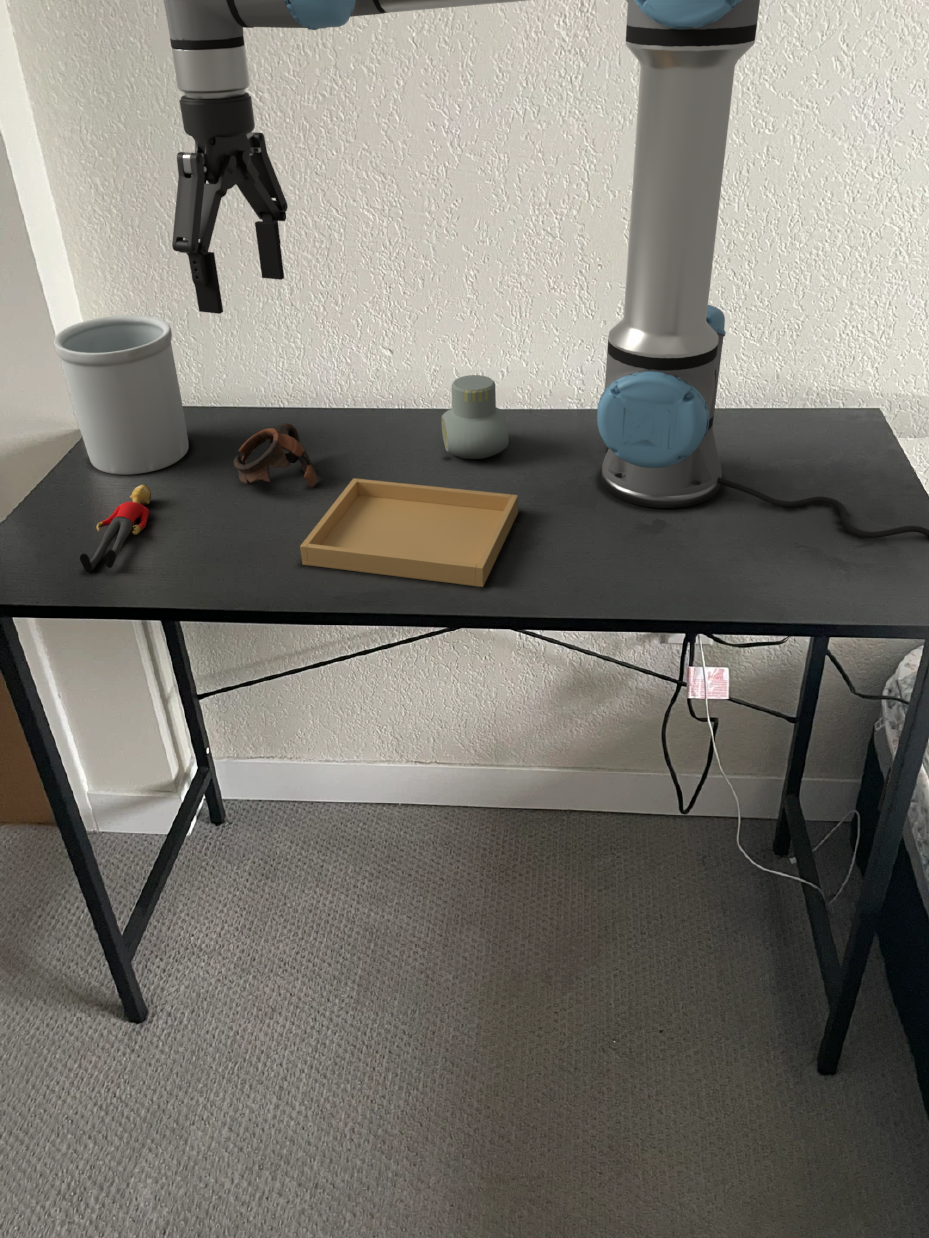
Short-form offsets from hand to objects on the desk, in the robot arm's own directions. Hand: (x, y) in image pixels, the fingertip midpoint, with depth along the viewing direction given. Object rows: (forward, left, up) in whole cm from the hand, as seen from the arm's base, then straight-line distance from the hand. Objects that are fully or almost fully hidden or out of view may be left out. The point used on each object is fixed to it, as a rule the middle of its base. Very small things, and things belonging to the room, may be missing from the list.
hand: (243, 294), depth 120 cm
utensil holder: (+23, -6, -26) cm, 35 cm away
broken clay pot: (0, -3, -26) cm, 26 cm away
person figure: (+13, +15, -26) cm, 32 cm away
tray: (-22, +8, -25) cm, 35 cm away
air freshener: (-23, -17, -26) cm, 38 cm away
